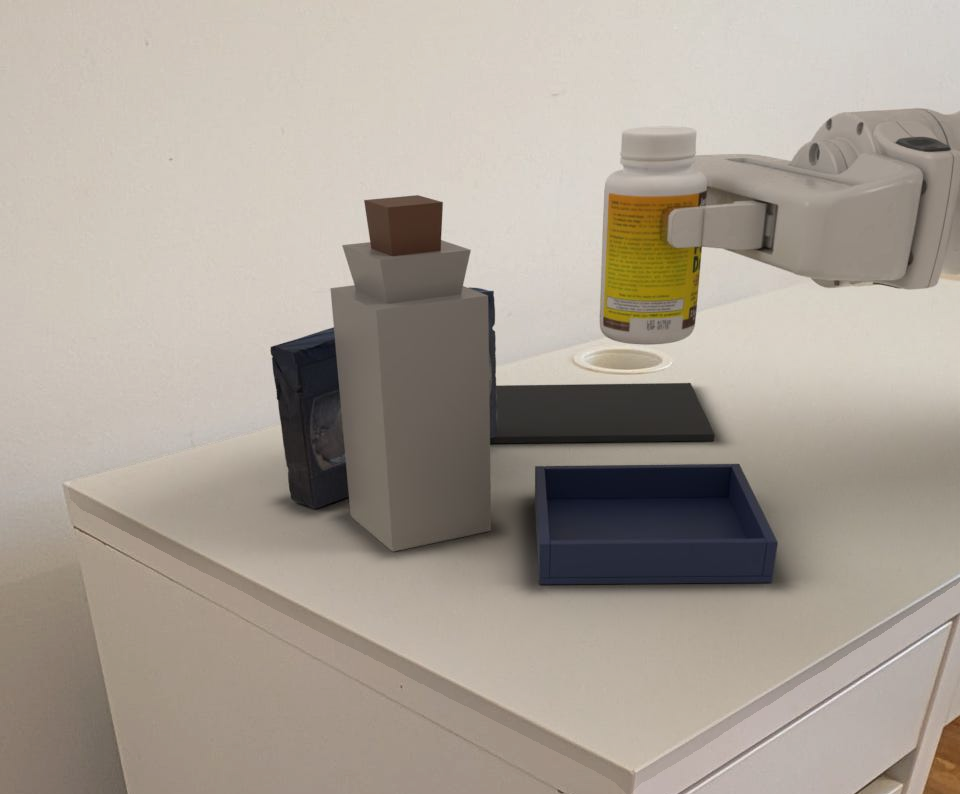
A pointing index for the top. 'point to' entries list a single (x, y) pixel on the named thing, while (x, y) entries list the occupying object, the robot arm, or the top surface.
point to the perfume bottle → (413, 380)
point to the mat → (600, 413)
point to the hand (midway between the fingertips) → (639, 218)
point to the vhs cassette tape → (328, 413)
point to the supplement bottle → (649, 239)
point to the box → (650, 525)
